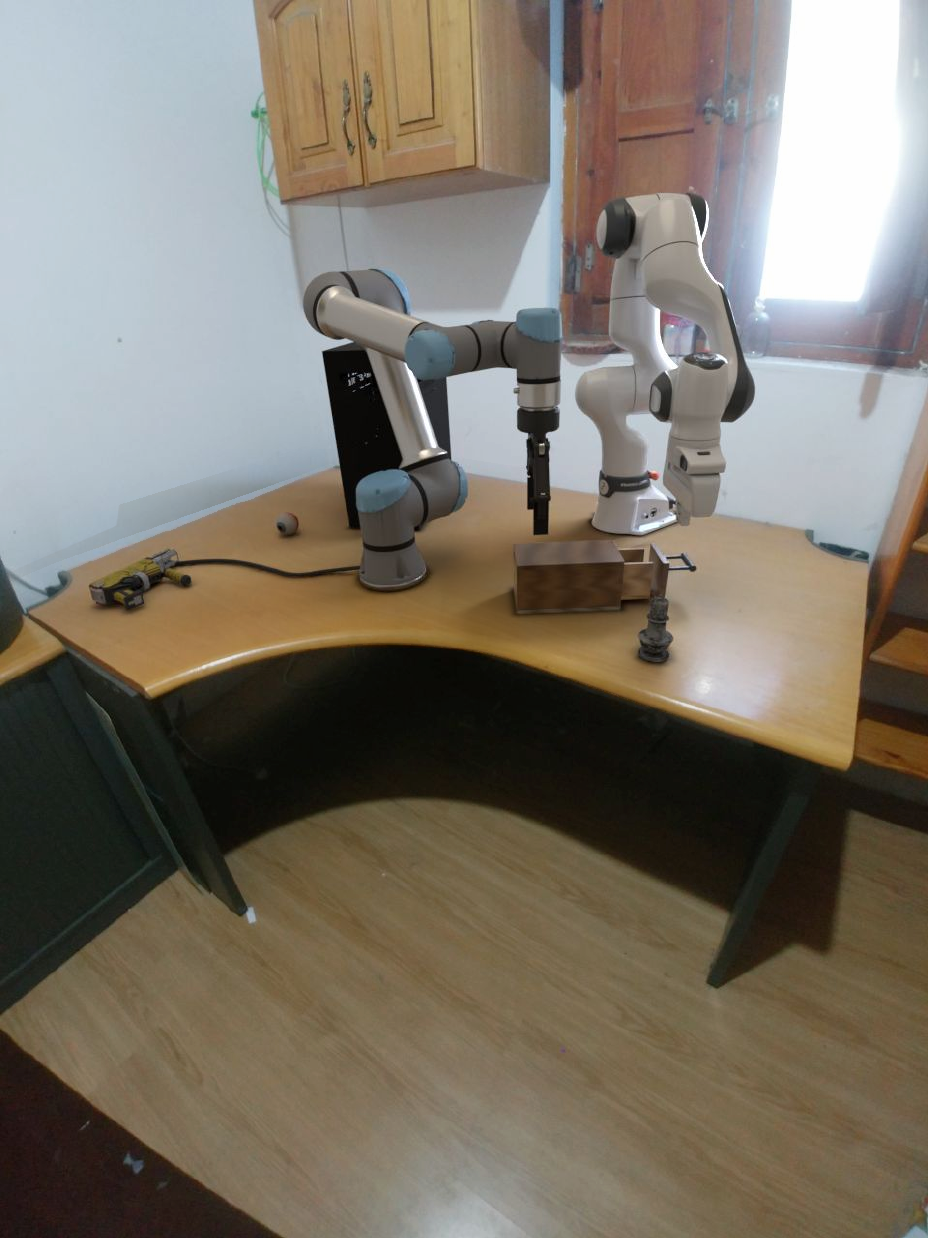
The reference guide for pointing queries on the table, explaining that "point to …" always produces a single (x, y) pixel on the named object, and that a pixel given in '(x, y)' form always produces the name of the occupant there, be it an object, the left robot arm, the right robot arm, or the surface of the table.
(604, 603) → the brown wooden box
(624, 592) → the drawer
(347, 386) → the black piece
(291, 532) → the eyeball
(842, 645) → the table surface
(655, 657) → the stone chess piece
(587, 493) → the table surface
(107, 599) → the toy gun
